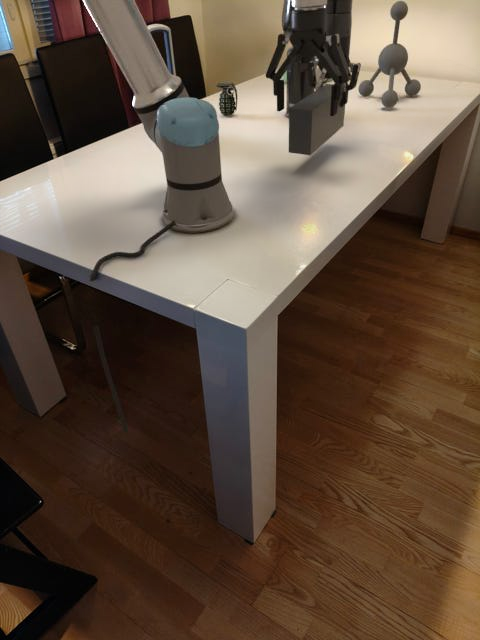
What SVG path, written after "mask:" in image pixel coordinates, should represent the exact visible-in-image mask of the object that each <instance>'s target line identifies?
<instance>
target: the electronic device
mask: <svg viewBox="0 0 480 640" xmlns="http://www.w3.org/2000/svg"><path fill="white" fill-rule="evenodd" d="M147 27H148V30H149V32H150V34H151V35H152V34H154V33H157V32H158V33H159V32H161V33H162V32H163V38H164V46H165V54H166V62H167V63H166V64H167V68H168V70H169V73H170V74H172V75H175V76H177V72H176V65H175V64H176V63H175V56H174V48H173V39H172V30H171V28H170V27H169V26H167V25H165V24H161V23H152V24H149V25H147Z"/></svg>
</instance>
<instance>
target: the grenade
mask: <svg viewBox="0 0 480 640" xmlns="http://www.w3.org/2000/svg"><path fill="white" fill-rule="evenodd" d="M215 87H217V88H219V89H221V93H219V97H218V101H219V102H218V106H219V108H218V109H219V112H220V114H221V115H222V116H224V117H231V116H233V115H234V113H235V112H236V111H237V108H238V89H237V87H236V85H235V84H234V83H233V82H218V83H217V84H216V86H215ZM232 91H233V92H232ZM234 94H235V96H234Z"/></svg>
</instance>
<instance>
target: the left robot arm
mask: <svg viewBox="0 0 480 640" xmlns="http://www.w3.org/2000/svg"><path fill="white" fill-rule="evenodd" d="M82 2H83V4H84V6H85V8H86V9H87V11H88V13H89V15H90V16H91V18H92V20H93V22H94V23H95V26H96V27H97V29H98V31H99V33H100V34H101V36H102V38H103V40H104V41H105V44H106V46H107V47H108V49H109V51H110V52H111V54H112V56H113V58H114V60H115V62H116V63H117V66H119V69H120V71H121V72H122V75H123V76H124V78H125V80H126V82H127V83H128V85H129V87H130V89H131V90H132V92H133V99H132V103H131V104H132V107H133V109H134V110H135V113H136V114H137V116H138V118H139V119H140V121H141V123H142V125H143V129H144V132H145V133H146V135H147V137H148V138H149V139H150V140H151V141H152V142H153V143H154V144H155V146H156V147H157V148H158V150H159V151H160V152H161V154H162V159H163V168H164V173H165V180H166V190H165V191H166V192H165V196H164V203H163V207H162V218H163V222H164V224H165V226H164V227H162V229H159V231H157V232H156V233H155V234H153V235H152V236H151V237H149V238H148V239H147V240H146V241H144V242H143V243H142V244H141V245H140V248H139V250H138V251H135V252H127V251H115V252H111V253H109V254H106V255H104V256H102V257H101V258H99V259H98V260H97V261H96V263H95V265H94V267H93V269H92V272H91V275H90V278H89V281H90V282H94V281H95V280H96V278H97V276H98V274H99V271H100V269H101V266H102V265H103V264H104V263H105V262H107V261H109V260H112V259H115V258H117V257H118V258H138V257H140V256H143V254H144V253H145V250H146V248H147V247H148V246H150V245H151V244H152V243H153V242H154V241H156V240H157V239H158V238H160V237H161V236H162V235H164V234H165V233H167V232H168V231H169V230H173V231H177V232H180V233H190V234H191V233H192V234H193V233H194V234H195V233H196V234H197V233H205V232H206V233H207V232H210V231H215V230H216V229H220V228H222V227H224V226H226V225H227V224H228V223H230V221H231V220H232V218H233V216H234V212H233V211H234V210H233V204H232V201H231V200H230V197H229V195H228V192H227V190H226V187H225V184H224V182H223V175H222V174H223V173H222V161H221V147H220V146H221V145H220V133H219V131H220V124H219V119H218V114H217V110H216V108H215V106H214V105H213V104H212V103H211V102H209V101H207V100H204V99H203V98H202V99H201V98H200V99H198V98H197V97H190V95H189V93H188V91H187V89H186V87H185V85H184V83H183V81H182V79H181V77H180V76H178V75H176V76H175V75H172V74H170V73H169V70H168V65H166V64H167V63H166V62H165V60H164V58H163V57H162V54H161V52H160V50H159V48H158V45H157V44H156V42H155V40H154V38H153V36H152V34H150V32H149V30H148V27H147V26H148V25H147V23H146V21H145V19H144V17H143V15H142V13H141V11H140V9H139V7H138V5H137V3H136V0H82ZM326 4H327V0H291V6H292V7H294V10H292V12H291V29H292V33H291V35H289V34H287V33H285V32H284V31H283V32H282V33H279V34H278V35H277V43H276V48H275V50H274V52H273V54H272V57H271V60H270V62H269V64H268V67H267V70H266V73H265V78H266V79H270V80H271V81H272V84H273V86H272V87H273V96H275V97H276V112H281V111H283V110H284V109H285V81H284V80H283V75H284V73H285V72H286V71H287V69H288V68H289V67H290V65H291V64H292V63H293V61H294V60H295V58H296V57H297V56H298V55H299V56H300V57H305V56H307V57H312V58H313V57H315V56H316V57H317V59H318V60H320V61H321V63H322V64H323V66H324V67H325V69H326V71H327V72H328V74H329V75H330V77H331V78H330V79H331V80H332V81H333V83H332V84H333V85H332V90H331V108H330V116H334V115H335V114H336V113H337V107H338V100H340V99H341V98H342V91H343V83H347V82H348V83H349V82H350V80H351V79H352V76H351V75H352V73H351V72H350V67H348V65H347V62H346V59H345V56H344V53H343V51H342V48H341V45H340V34H339V33H336V34H334V35H327V34H326V17H327V10H326V8H324V6H325V5H326ZM289 42H290V44H291V47H292V46H293V49H292V50H291V52H290V53H289V55H288V57H287V56H286V58H285V60H284V61H283V62H282V63H281V65H280V67H279V64H280V61H281V59H282V58H283V54H284V52H285V49H286V47H287V46H288V44H289ZM326 42H328V43H329V45H330V46H331V48H332V52H333V54H334V57H335V60H336V62H337V65H338V68H339V71H340V72H339V71H338V69H337V68H336V66H335V65H334V63H333V62H332V60H331V59H330V57H329V56H328V53H327V51H326V49H325V48H324V45H325V44H326ZM278 67H279V68H278ZM340 73H341V74H340ZM99 327H100V326H99V325H93V332H94V337H95V341H96V345H97V349H98V353H99V356H100V360H101V363H102V367H103V370H104V373H105V377H106V380H107V383H108V385H109V388H110V392H111V395H112V397H113V401H114V403H115V406H116V410H117V413H118V417H119V420H120V423H121V427H122V430H123V431H122V432H123V433H124V434H126V435H127V434H128V433H129V430H128V427H127V423H126V422H127V421H126V419H125V416H124V412H123V408H122V405H121V402H120V400H119V397H118V393H117V391H116V390H117V389H116V387H115V384H114V381H113V377H112V374H111V370H110V368H109V363H108V361H107V357H106V354H105V350H104V345H103V341H102V337H101V332H100V328H99Z"/></svg>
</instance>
